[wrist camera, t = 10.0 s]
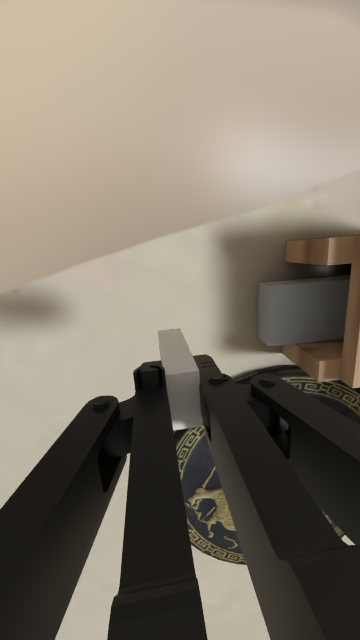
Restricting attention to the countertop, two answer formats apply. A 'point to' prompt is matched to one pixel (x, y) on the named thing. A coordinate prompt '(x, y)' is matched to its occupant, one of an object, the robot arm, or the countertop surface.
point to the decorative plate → (202, 478)
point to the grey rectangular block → (302, 310)
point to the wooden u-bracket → (356, 348)
